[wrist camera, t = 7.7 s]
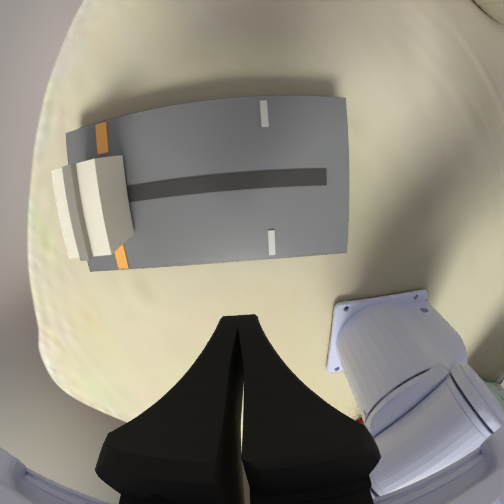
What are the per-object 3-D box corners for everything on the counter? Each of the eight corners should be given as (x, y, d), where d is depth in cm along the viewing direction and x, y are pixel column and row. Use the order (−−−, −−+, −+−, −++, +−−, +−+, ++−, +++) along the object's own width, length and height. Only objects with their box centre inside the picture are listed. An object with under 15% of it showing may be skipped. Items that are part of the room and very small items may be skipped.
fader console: (335, 102, 16) (346, 97, 14) (337, 242, 19) (347, 253, 17) (80, 133, 15) (64, 133, 13) (101, 260, 19) (89, 272, 17)
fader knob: (122, 155, 14) (89, 159, 10) (134, 233, 16) (107, 258, 12) (83, 164, 14) (45, 172, 10) (95, 238, 16) (64, 262, 12)
